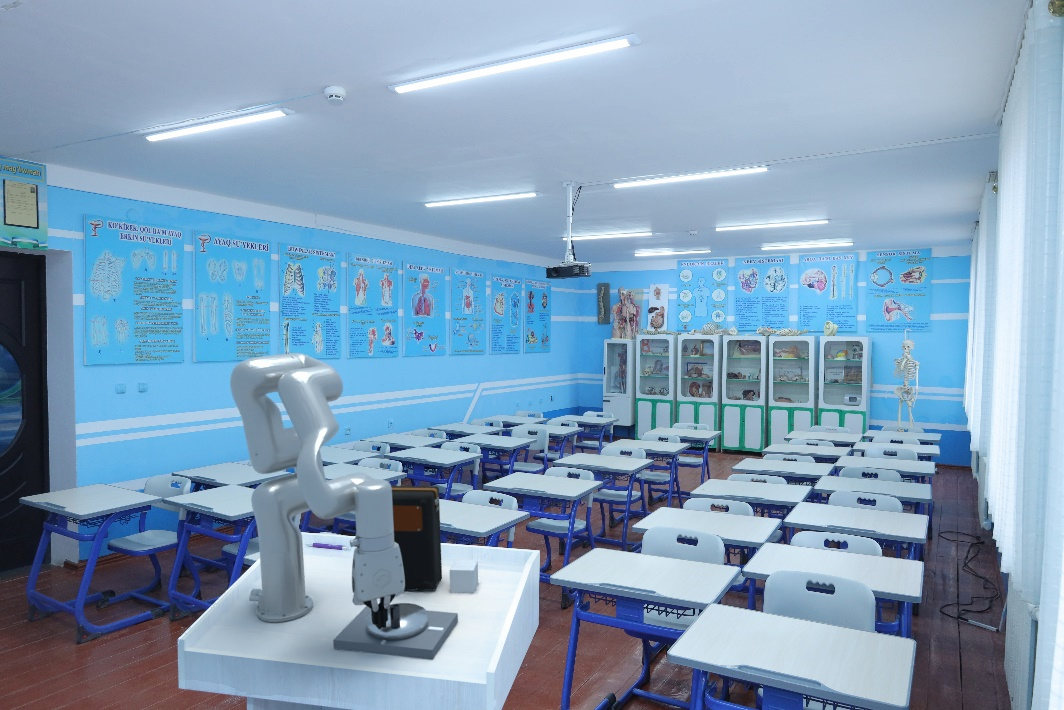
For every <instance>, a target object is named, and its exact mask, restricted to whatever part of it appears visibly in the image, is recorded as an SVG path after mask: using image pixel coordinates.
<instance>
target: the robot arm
mask: <svg viewBox="0 0 1064 710" xmlns="http://www.w3.org/2000/svg"><path fill="white" fill-rule="evenodd" d="M343 383H344V382H343V379H342V377H341V375H340V374H339V372H338V371H337V370H336V369H335V368H334V367H333V366H331V365H330V364H328V363H326V362H324V361H321V360H319V359H317V358H315V357H311V356H309V355H307V354H305V353H300V352H294V353H293V352H292V353H291V352H289V353H282V354H275V355H274V354H273V355H263V356H256V357H251V358H248V359H244V360H242V361H241V362H239V363H238V364H236V365H235V366H234V368H233V369H232V372H231V375H230V381H229V385H230V386H229V387H230V392H231V396H232V398H233V399H232V400H233V401H234V403H235V405H236V407H237V410H238V411H239V415H240V418H241V420H242V425H243V431H244V434H245V435H244V436H245V441H246V447H247V451H248V455H249V461H250V463H251V467H252V468H253V470H254V471H255V472H256V473H258V474H260V475H269V474H275V473H278V472H281V471H285V470H289V469H293V470H294V473H290V474H287V475H282V476H279V477H275V478H272V479H268V480H266V481H264V482H262V483H260V484H259V485H257V486H256V488H255V489H254V490H253V492H252V494H251V501H250V502H251V507H252V511H253V515H254V518H255V523H256V528H257V535H258V547H259V549H258V550H259V560H260V563H259V565H260V575H261V588H252V589H251V591H250V595H249V602H257V603H258V606H257V607H256V611H255V612H256V616H257V618H258V619H260V620H261V621H264V622H270V623H280V622H281V623H282V622H288V621H292V620H296V619H298V618H301V617H303V616H305V615H306V614H308V613H309V612H310V611H311V610H312V609H313V607H314V600H313V598H312V597H311V596H309V595H307V594H306V580H305V561H304V547H303V545H304V544H303V534H302V532H301V529H300V528H299V527H298V525H297V524H296V523H295V522H294V521H293V517H294V516H295V517H296V516H298V515H300V514H302V513H305V512H309V511H311V512H312V513H313V515H315V516H316V517H317V518H319V519H322V520H330V519H333V518H336V517H339V516H342V515H344V514H349V513H351V512H354V513H355V514H354V515H355V529H356V532H355V538H353V539H351V540H349V546H350V547H351V548H353V547H354V550H353V557H352V563H351V564H352V565H351V590H352V593H353V595H352V604H354V606H365V607H366V606H368V607H369V608H370V609H371V615H372V623H373V625H375V626H376V627H377V628H378V629H381V628H386V621H388V608H389V606H390V604H391V603H392V601H393V600H394V599H395V597H398V596H400V595H402V594H404V592H405V590H404V588H405V577H404V569H403V562H402V557H401V552H400V548H399V544H398V543H396V542H394V523H393V504H392V488H391V486H392V485H391V483H390V482H389V481H388V480H385V479H380V478H379V479H378V478H377V479H376V478H374V477H372V476H370V475H368V474H366V473H364V472H354V473H350V474H347V475H344V476H339V477H336V478H333V479H329V480H326V474H325V468H324V465H323V464H324V463H323V459H322V454H321V448H322V447H323V446H325V445H326V444H327V443H328V442H329V441H331V440H332V439H333V438H334V437H335V436H336V435H337V434H338V433H339V429H340V425H339V423H338V421H337V418H336V417H335V415H334V413H333V411H332V409H331V406H330V405H329V403H331V402H334V401H336V400H338V399H339V398H340V397H341V396H342V394H343V391H344V389H343V388H344V384H343ZM272 393H277V394H278V395H279V398H280V400H281V402H282V405H283V406H284V409H285V411H286V413H287V416H288V417H289V419H290V421H291V424H292V426H290V427H285V426H284V423H283V417H282V414H281V410H280V408H279V406H278V405H277V404H276V402H274V400H272V399H271V397H269V396H268V395H269V394H272ZM267 394H268V395H267ZM378 599H379V603H378Z"/></svg>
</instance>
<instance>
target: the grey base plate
mask: <svg viewBox="0 0 1064 710" xmlns="http://www.w3.org/2000/svg"><path fill="white" fill-rule="evenodd" d="M426 611H427V616H428V624H427V626H426V628H425V629H424V630H423V631H421V632H420V633H418V634H416V635H414V636H411V637H408V638H404V639H398V640H383V639H378V638H375V637H373V636H371V635H370V634H369V633H368V631H367V617H368V615H369V614H370V613H371V609H370V608H369V607H368V606H366V605H365V607H363V608H362V610H360V612H359V613H357V615H355V617H354V618H353V619H352V620H351V621H350V622H349V623H348V624H347V625H346V626H345V627H344V628H343V629H342V630H341V632H339V633H338V634H337V635H336V636H335V637H334V638H333V640H332V641H333V644H332V645H333V650H342V651H351V652H352V651H353V652H359V651H362V652H361V653H369V654H380V655H381V654H382V655H388V656H399V657H409V658H419V659H427V660H434V658H435V657H436V655H437V654H438V652H439V651H440V649H441V647H443V644H444V643H445V642H446V640H447V639H448V638H449V636H450V634H451V633H452V631H453V630H454V628H455V627H456V625H457V624H458V623H459V615H458V612H448V611H435V610H426Z"/></svg>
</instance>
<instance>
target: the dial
mask: <svg viewBox="0 0 1064 710" xmlns="http://www.w3.org/2000/svg"><path fill="white" fill-rule="evenodd" d="M427 611H428V610H427ZM427 611H426V608H425V607H423V606H422V605H419V604H416V603H409V602H398V603H392V604H391V603H390V606H389V608H388V621H386V628H381V629H378V628H377V627H376V626H375V625H373V623H372V615H371V613H370V614H369V615H368V617H367V631H368V633H369V634H370V635H371V636H373V637H375V638H378V639H383V640H398V639H404V638H408V637H411V636H414V635H416V634H418V633H420V632H421V631H423V630H424V629H425V628H426V626H427V624H428V616H427Z"/></svg>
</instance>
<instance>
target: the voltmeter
mask: <svg viewBox="0 0 1064 710" xmlns="http://www.w3.org/2000/svg"><path fill="white" fill-rule="evenodd" d="M391 488H392V504H393V523H394V542H396V543H398V544H399V548H400V552H401V557H402V562H403V569H404V577H405V588H404V591H405V590H406V591H407V590H408V591H409V590H410V591H411V590H413V591H434V590H436V588H437V586H438V585H439V581H440V582H441V581H442V580H443V569H442V568H443V566H442V563H443V562H442V544H441V542H442V540H441V539H442V538H441V517H440V516H441V513H440V510H441V509H440V488H439V487H438V486H436V485H434V486H433V485H432V486H430V485H427V486H424V485H423V486H422V485H420V486H419V485H391Z"/></svg>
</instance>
